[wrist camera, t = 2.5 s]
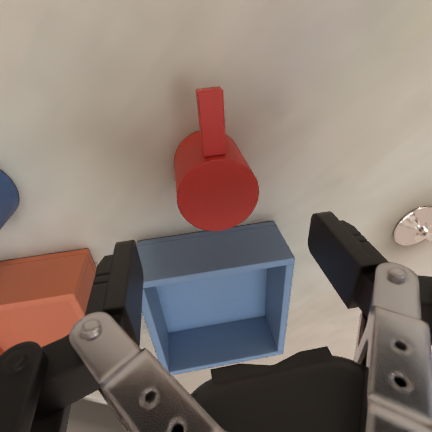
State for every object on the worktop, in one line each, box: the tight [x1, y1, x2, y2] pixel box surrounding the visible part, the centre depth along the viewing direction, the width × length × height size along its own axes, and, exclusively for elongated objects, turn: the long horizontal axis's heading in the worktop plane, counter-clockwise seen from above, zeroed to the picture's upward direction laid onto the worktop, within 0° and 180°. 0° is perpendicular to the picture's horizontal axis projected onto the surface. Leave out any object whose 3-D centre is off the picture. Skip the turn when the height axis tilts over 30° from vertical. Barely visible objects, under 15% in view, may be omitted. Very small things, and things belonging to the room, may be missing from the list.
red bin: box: [0, 249, 96, 355], centre depth 24 cm, size 12×11×5 cm
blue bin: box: [137, 221, 295, 375], centre depth 25 cm, size 12×11×5 cm
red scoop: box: [174, 87, 259, 231], centre depth 17 cm, size 8×5×5 cm, turn 4°
